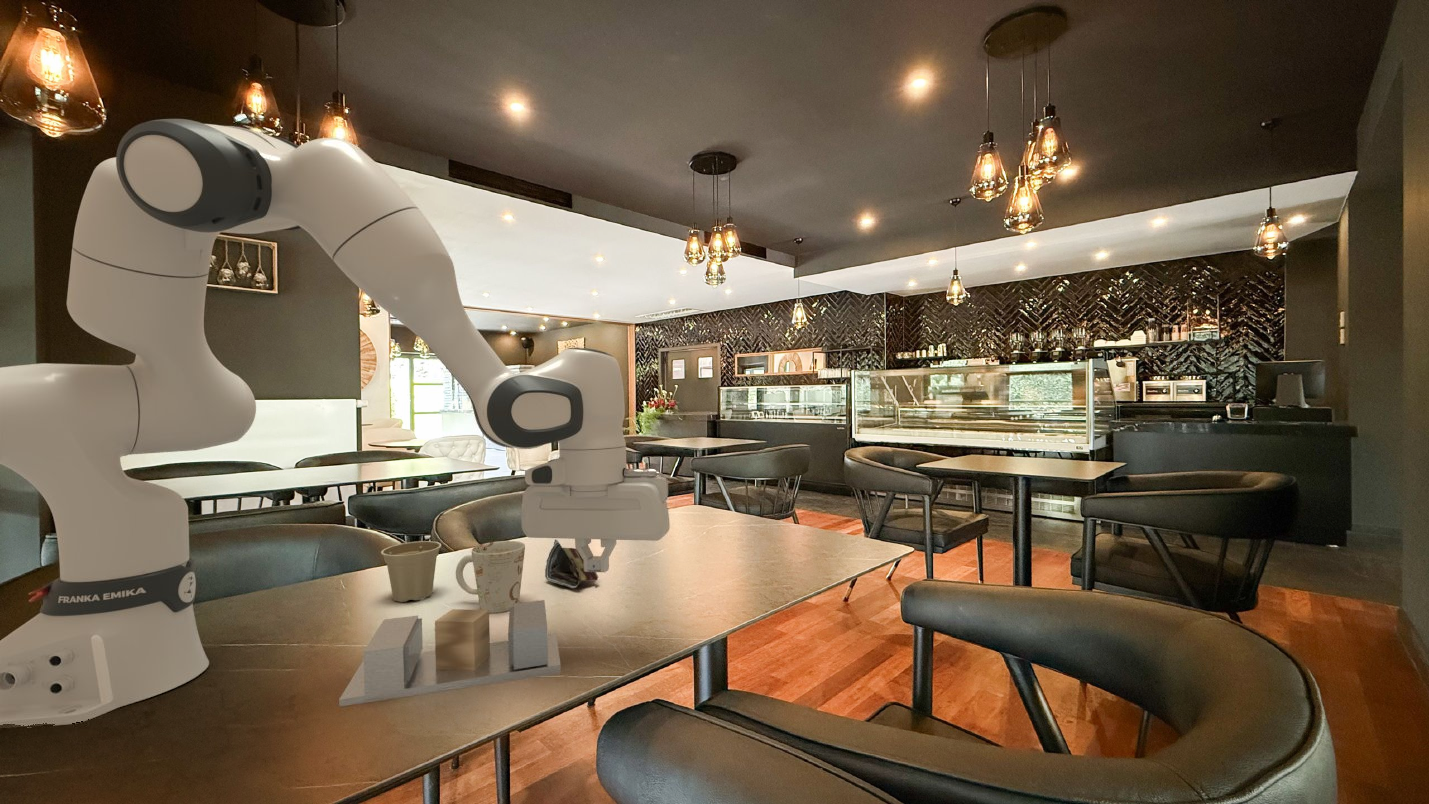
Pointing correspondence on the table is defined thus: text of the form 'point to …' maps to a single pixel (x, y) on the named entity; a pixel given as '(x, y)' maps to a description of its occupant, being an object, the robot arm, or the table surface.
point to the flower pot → (411, 569)
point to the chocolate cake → (566, 567)
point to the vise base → (427, 666)
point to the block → (462, 639)
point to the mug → (495, 574)
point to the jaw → (528, 635)
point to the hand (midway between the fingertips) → (596, 571)
